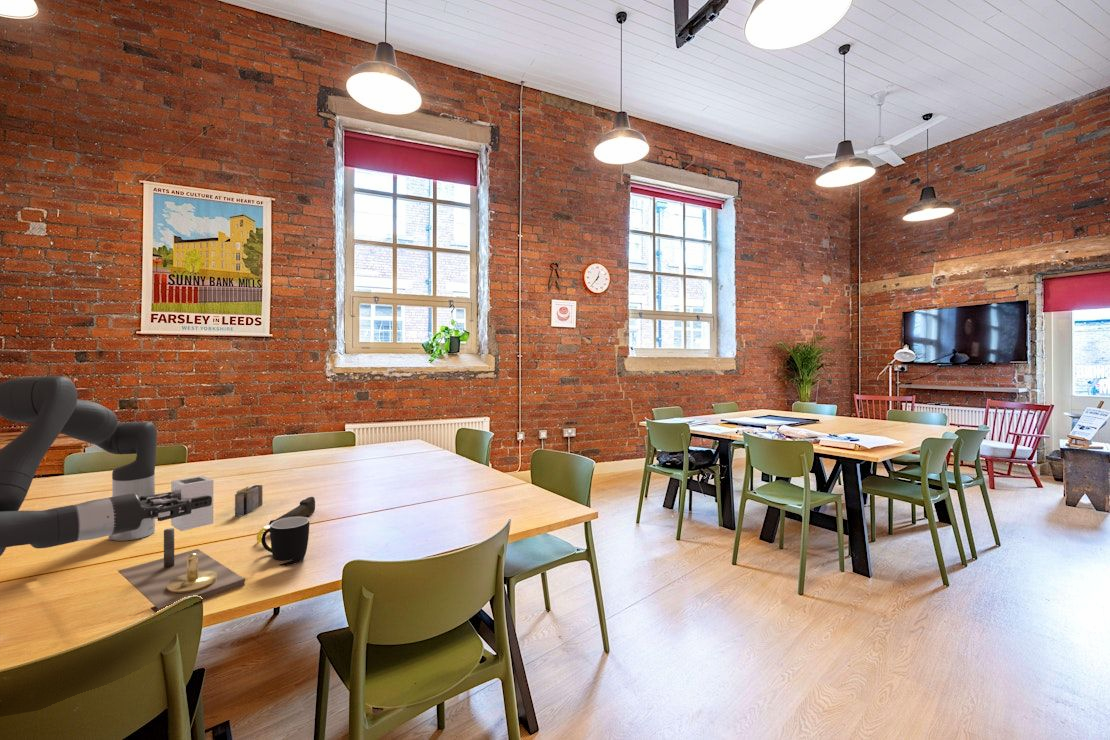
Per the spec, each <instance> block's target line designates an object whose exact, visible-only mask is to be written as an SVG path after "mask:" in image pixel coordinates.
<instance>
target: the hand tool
mask: <svg viewBox="0 0 1110 740" xmlns="http://www.w3.org/2000/svg"><path fill="white" fill-rule="evenodd" d="M315 498H316V497H314V496H309V497H307V498H305V499H303V500H301V501H300V502H299V505H298V506H296V507H294V508H293V509H291V510H289V511H288V512H286V513H284V514H283V515H281V516H279V517H278V518H276V519H272V520H270V521H269V522H268V525H271V523H273V522H274V521H277V520H279V519H283V518H288V517H306V518H309V517H311V515H312V514H313V513H314V512H315V510H316V499H315ZM268 533H270V531H269V532H268Z"/></svg>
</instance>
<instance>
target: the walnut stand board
mask: <svg viewBox="0 0 1110 740" xmlns="http://www.w3.org/2000/svg"><path fill="white" fill-rule="evenodd" d="M192 553H196V554H197V555H198V571H214V572H216V573H217V580H216V582H215V583H214V584H212V585H210V586H209V587H206V588H204V589H201V590H198V591H195V592H190V593H184V594H172V593H169V592H168V591H167V584H168V582H169V581H171V580H172V579H174V578H176V577H178V576H181V575H184V574H187V557H188V555H190V554H192ZM117 571H118V573H119V574H120V575H121V576H122V577H124V578H125V579H126V580H127V581H128V582H129V583H130V584H131V585H133V587H135V588H136V589H137V590H138V592H140V593H141V594H142V595H143V596H144V597H145V598H146V599H147V600H148V601H149V602H151V604H153V605H154V606H152V607H150V610H152V612H154V613H155V612H157V611H159V610H161V609H163V608H165V607H166V606H169V605H171V604H173V603H174V602H176V601H178V600H180V599H182V598H184V597H188V596H193V595H198V596H201V597H202V598H203V600H206V599H208V598H211V597H215V596H218V595H221V594H223V593H226V592H229V591H231V590H234V589H237V588H240V586H241V587H243V586H245V585H246V584H245V578H244V577H243V576H241V575H240V574H239V573H236V572H235V571H233V570H231V569H230V568H229V567H227V566H225V565H223V564H222V563H221V562H219V561H218V560H216V559H214V558H213V557H211V556H209V555H208V554H206V553H205V552H204V551H202V550H200V549H199V548H195V549H192V550H188V551H185V552H182V553H177V554H175V527H174V528H173V527H170V528H166V529H164V530H163V558H159V559H156V560H152V561H148V562H144V563H140V564H137V565H133V566H130V567H126V568H123V569H119V570H117Z"/></svg>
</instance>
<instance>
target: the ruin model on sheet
mask: <svg viewBox="0 0 1110 740" xmlns="http://www.w3.org/2000/svg"><path fill="white" fill-rule="evenodd" d="M262 505H263V484H254V485H252V486H246V487H245V488H242V489H240V490H237V491H236V493H235V494H234V516H235V517H244V516H245V514H246V513H248V514H249V513H251V512H252V511H255V510H257V509H258V508H260V507H262ZM254 509H255V510H254ZM244 512H245V513H244ZM243 515H244V516H243Z"/></svg>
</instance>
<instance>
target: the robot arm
mask: <svg viewBox="0 0 1110 740" xmlns="http://www.w3.org/2000/svg"><path fill="white" fill-rule="evenodd" d="M0 417H2V418H3V419H5V420H7V421H10V422H13V423H18V424H24V425H29V426H27V428H26V429H25V430H24V431H22V432H21V433H20V434H19V435H18V436H17V437H15V438H13V440H11V441H10V442H8V443H7V444H6V445H4V446H3V447H2V448H1V449H0V557H1V556H2V555H3V554H4V552H5V551H6V550H7V549H6V548H9V547H10V548H12V547H18V546H26V545H27V546H28V545H30V546H31V547H32V548H34V549H47V548H53V547H58V546H62V545H66V544H71V543H77V542H82V541H89V540H94V539H100V538H105V537H108V541H119V542H123V541H124V542H125V541H133V540H134V541H135V540H137V539H142V538H145V537H148V536H151V535H152V534H153V535H154V534H155V531H156V530H155V529H156V528H155V527H156V522H155V521H156V519H157V521H158V522H163V521H166V520H167V521H168V520H171V518H175V517H179V516H183V515H187V514H191V511H192V510H193V509H197V508H202V507H207V506H210V505H211V504H212V497H211V496H205V497H199V498H194V499H187V500H182V501H181V500H179V499H177V498H174V499H171V498H172V496H171V491H168V492H162V493H155V492H156V490H155V489H156V488H155V486H156V485H155V483H156V481H155V479H156V478H155V477H156V476H155V470H156V465H157V464H156V463H157V462H156V461H157V445H158V444H157V443H158V429H157V427H156V425H155V424H154V423H153V422H151V421H126V422H125V421H122V422H121V421H120V422H119V421H118V416H117V415H116V413H115V412H114V411H113V410H111V409H109V408H108V407H107V406H104V405H102V404H101V403H100V404H99V403H97V402H94V401H91V400H87V399H86V400H85V399H80V398H78V390H77V387H76V385H75V383H74V382H73V381H72V379H70V378H68V377H66V376H62V375H46V376H45V375H44V376H43V375H42V376H29V377H28V376H26V377H16V378H10V379H7V380H4V381H2V382H0ZM60 434H62V435H65V436H67V437H70V438H73V439H76V440H79V441H82V442H86V443H88V444H92V445H95V446H97V447H99V448H101V449H102V450H104V451H105V452H107V453H110V454H113V455H136V458H135V460H134V461H131V462H130V463H127V464H123V465H121V466H118V467H116V468H114V469H113V470H112V473H111V479H112V480H111V481H112V482H111V483H112V485H111V487H112V488H111V489H112V496H111V497H103V498H97V499H92V500H88V501H87V500H86V501H85V502H80V503H76V504H71V505H64V506H59V507H54V508H48V509H44V510H20V508H21V506H22V504H23V503H24V502H25V501H24V500H25V499H26V497H27V494H28V492H29V490H30V487H31V484H32V482H33V480H34V477H35V475H36V473H37V470H38V468H39V466H40V464H41V462H42V460H43V459H44V457H45V455H46V454H47V452H48V451H49V449H50V448H51V446H52V445H53V443H54V442H55V441H56V439H57V438H58V436H59V435H60ZM172 503H173V505H172ZM183 506H184V509H179V508H180V507H183Z"/></svg>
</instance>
